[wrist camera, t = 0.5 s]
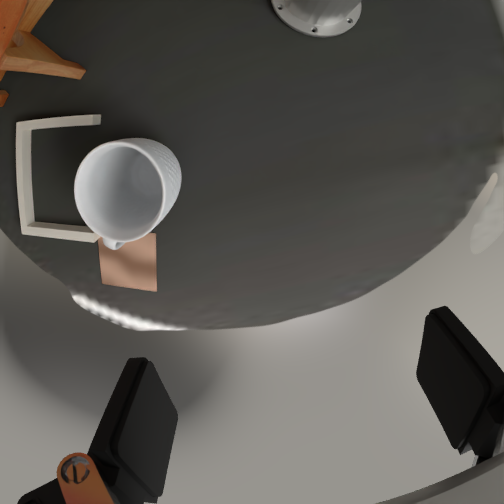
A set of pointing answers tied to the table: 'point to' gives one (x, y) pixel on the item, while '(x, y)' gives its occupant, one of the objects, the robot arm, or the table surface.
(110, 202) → the mug
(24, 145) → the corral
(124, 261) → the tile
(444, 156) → the table surface
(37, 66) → the planter
